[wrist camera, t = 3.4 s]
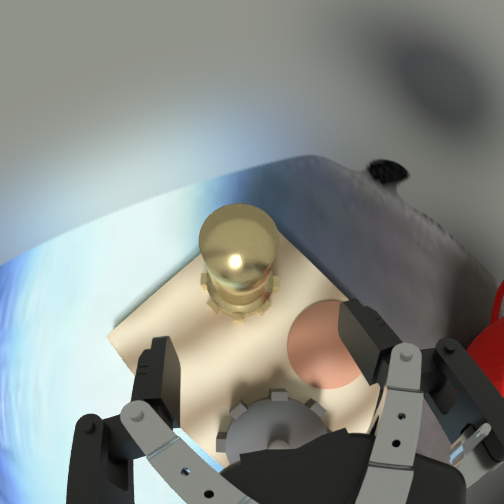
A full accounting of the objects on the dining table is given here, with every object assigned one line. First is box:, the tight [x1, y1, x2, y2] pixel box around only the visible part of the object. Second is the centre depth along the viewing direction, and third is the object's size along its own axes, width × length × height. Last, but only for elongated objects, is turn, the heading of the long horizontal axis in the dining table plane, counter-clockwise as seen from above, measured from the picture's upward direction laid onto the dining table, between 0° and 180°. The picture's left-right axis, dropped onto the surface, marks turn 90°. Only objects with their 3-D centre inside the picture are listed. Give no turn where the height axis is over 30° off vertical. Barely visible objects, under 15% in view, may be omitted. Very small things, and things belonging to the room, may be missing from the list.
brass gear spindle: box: [199, 203, 280, 323], centre depth 18 cm, size 6×6×10 cm
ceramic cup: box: [455, 280, 504, 398], centre depth 17 cm, size 13×17×10 cm
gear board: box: [106, 231, 380, 468], centre depth 20 cm, size 22×18×5 cm
